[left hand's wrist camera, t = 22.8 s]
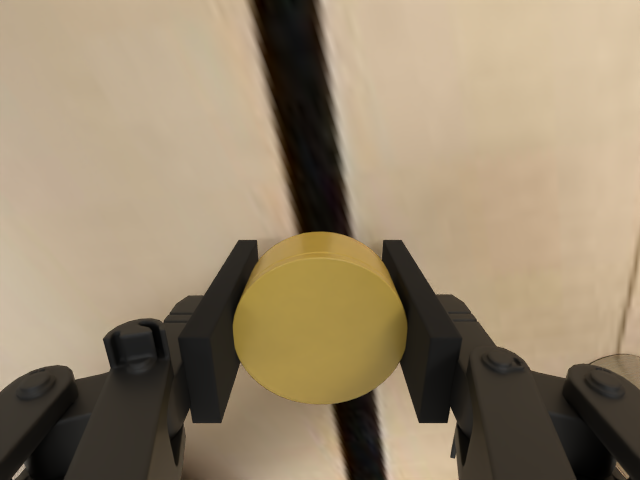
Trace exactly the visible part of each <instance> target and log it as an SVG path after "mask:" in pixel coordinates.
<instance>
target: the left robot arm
mask: <svg viewBox="0 0 640 480" xmlns="http://www.w3.org/2000/svg"><path fill="white" fill-rule="evenodd" d="M257 262H258V249H257V240H239V241H238V242H237V244H236V245H235V247H234V249H233V250H232V252H231V253H230V255H229V257H228V258H227V260H226V261H225V263H224V265H223V266H222V268H221V269H220V271H219V273H218V274H217V276H216V277H215V279H214V281H213V282H212V284H211V285H210V287H209V289H208V290H207V292H206V293H205V295H204V296H187V297H186V298H184V299H183V300H181V301H180V302H178V303H177V304H176V305H175V306H174V308H173V309H172V310H171V312H170V315H168V316H167V317H166V319H165V320H164V323H162V322H161V321H160V320H156V319H152V318H148V319H138V320H133V321H129V322H127V323H124V324H122V325H119V326H117V327H116V328H114V329H113V330H111V331H110V332H108V334H107V335H106V336H105V337H104V338H103V341H104V345H105V349H106V352H107V356H108V360H109V363H110V367H111V369H110V371H109V372H107V373H104V374H100V375H95V376H91V377H86V378H81V379H77V380H75V378H74V375H73V372H72V370H71V369H69V368H68V367H67V366H60V365H55V366H48V367H43V368H39V369H36V370H34V371H31V372H29V373H27V374H25V375H23V376H21V377H19V378H17V379H16V380H15V381H13V382H12V383H11V384H9V385H8V386H7V387H5V388H4V389H3V390H2V391H1V392H0V480H12V477H13V476H14V475H15V473H16V472H17V471H18V470H19V468H20V467H21V466H22V465H23V463H24V465H25V467H26V468H25V469H24V470H23V471H22V473H21V474H20V475H19V476H18V477H17V478H16V479H15V480H181V477H182V467H183V457H184V448H185V438H186V435H185V429H184V423H183V422H184V420H185V418H186V416H187V413H188V411H189V409H190V410H191V416H192V421H193V423H221V422H222V419H223V416H224V412H225V409H226V406H227V403H228V400H229V397H230V393H231V390H232V387H233V384H234V381H235V378H236V374H237V371H238V368H239V365H240V360H239V357H238V355H237V353H236V350H235V345H234V336H233V319H234V314H235V311H236V308H237V305H238V303H239V300H240V298H241V296H242V293H243V291H244V289H245V286H246V284H247V282H248V279H249V277H250V275H251V272H252V271H253V269H254V267H255V265H256V264H257ZM382 262H383V263H384V265H385V266H386V268H387V270H388V272H389V274H390V277H391V279H392V281H393V284H394V286H395V288H396V291H397V293H398V295H399V298H400V300H401V303H402V305H403V307H404V310H405V313H406V317H407V323H408V329H407V339H406V347H405V351H404V354H403V356H402V358H401V360H400V364H401V367H402V371H403V374H404V377H405V380H406V383H407V386H408V390H409V393H410V396H411V399H412V402H413V405H414V409H415V412H416V415H417V418H418V421H419V423H448V417H449V411H450V407H451V409H452V411H453V413H454V416H455V418H456V420H457V423H456V429H455V434H454V439H453V444H452V450H451V456H450V458H454V459H455V455H456V456H457V466H458V476H459V480H640V390H639V389H638V388H637V387H636V386H635V385H634V384H632V383H631V382H630V381H628V380H627V379H625V378H624V377H623V376H621V375H619V374H617V373H615V372H613V371H611V370H609V369H606V368H602V367H599V366H596V365H589V364H578V365H573V366H572V367H571V368H569V370H568V373H567V376H566V378H561V377H556V376H552V375H547V374H542V373H538V372H535V371H531V370H530V368H529V367H528V365H527V364H526V362H525V361H524V360H523V359H522V358H520V357H519V356H518V355H516V354H515V353H513V352H511V351H509V350H507V349H504V348H501V347H497V346H496V345H495V344H494V342H493V341H492V340H491V338H490V337H489V336H488V334H487V333H486V332H485V330H484V329H483V328H482V326H481V325H480V324H479V322H477V320H476V318H475V317H474V315H473V314H471V311H470V310H469V309H468V307H467V306H466V305H465V303H464V302H462V301H461V300H459V299H458V298H456V297H455V296H453V295H435V293H434V291H433V290H432V288H431V287H430V285H429V283H428V282H427V280H426V279H425V277H424V275H423V274H422V272H421V271H420V269H419V267H418V266H417V264H416V263H415V261H414V259H413V258H412V256H411V255H410V253H409V251H408V250H407V248H406V247H405V245H404V243H403V242H402V240H383V252H382ZM617 462H618V463H619V464H620V466H621V467H622V468H623V469H624V470H625V472H626V473H627V474H628V475H629V478H628V479H626V478H625V477H624V476H623V475H622V474H621V473H620V472H619V470H618V469H617V468H616V467H615V465H616V463H617Z"/></svg>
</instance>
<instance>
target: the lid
mask: <svg viewBox="0 0 640 480" xmlns="http://www.w3.org/2000/svg"><path fill="white" fill-rule="evenodd" d="M407 329H408V323H407V317H406V313H405V310H404V307H403V305H402V303H401V300H400V298H399V295H398V293H397V291H396V288H395V286H394V284H393V281H392V279H391V277H390V274H389V272H388V270H387V268H386V266H385V265H384V263H383V262H382V260H381V259H380V258H379V257H378V256H377V255H376V254H375V253H374V252H373V251H372V250H371V249H370V248H368V247H367V246H365V245H364V244H363V243H361V242H359V241H357V240H355V239H353V238H350V237H348V236H345V235H341V234H337V233H330V232H310V233H303V234H299V235H296V236H292V237H290V238H288V239H285V240H283V241H281V242H280V243H278V244H276V245H275V246H273V247H272V248H271V249H269V250H268V251H267V252H266V253H265V254H264V255H263V256H262V257H261V258H260V260H259V261H258V262H257V264H256V265H255V267H254V269H253V271H252V272H251V275H250V277H249V279H248V282H247V284H246V286H245V289H244V291H243V293H242V296H241V298H240V300H239V303H238V305H237V308H236V311H235V314H234V319H233V336H234V345H235V350H236V353H237V355H238V357H239V360H240V362H241V363H242V365H243V366H244V368H245V370H246V371H247V372H248V373H249V374H250V375H251V377H252V378H253V379H254V380H256V381H257V382H258V383H259V384H260V385H262V386H263V387H264V388H266V389H267V390H269V391H271V392H273V393H274V394H276V395H278V396H281V397H283V398H286V399H289V400H292V401H296V402H301V403H306V404H333V403H340V402H344V401H348V400H351V399H354V398H357V397H360V396H362V395H364V394H366V393H368V392H370V391H371V390H373V389H375V388H376V387H377V386H379V385H380V384H381V383H383V382H384V381H385V380H386V379H387V378H388V377H389V376H390V375H391V374H392V372H393V371H394V370H395V369H396V367H397V366H398V364H399V362H400V360H401V358H402V356H403V354H404V351H405V347H406V339H407Z"/></svg>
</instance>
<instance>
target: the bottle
mask: <svg viewBox="0 0 640 480" xmlns="http://www.w3.org/2000/svg"><path fill="white" fill-rule="evenodd" d="M590 365H596V366H599V367H602V368H606V369H609V370H611V371H613V372H615V373H617V374H619V375H621V376H623V377H624V378H625V379H627V380H628V381H630V382H631V383H632V384H634V385H635V386H636V387H637V388H638V389H639V390H640V357H638V356H634V355H627V354H621V355H613V356H608V357H605V358H602V359H599V360H597V361H595V362H593V363H591V364H590ZM616 465H617V466H618V467H619V469H620V470H621V471H622V472H623V473H624V475H625V476H626V477H627V478H629V475H628V474H627V473H626V472H625V470H624V469H623V468H622V467H621V466H620V464H619V463H618V462H617V463H616Z"/></svg>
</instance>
